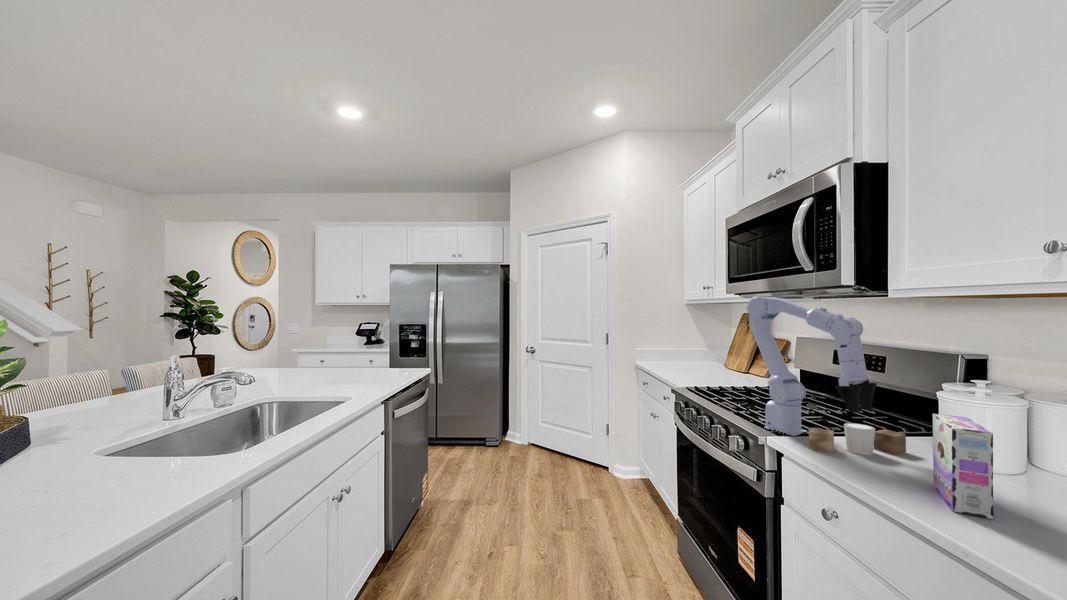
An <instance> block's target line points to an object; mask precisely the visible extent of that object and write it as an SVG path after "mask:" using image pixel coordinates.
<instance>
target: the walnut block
mask: <svg viewBox="0 0 1067 600" xmlns="http://www.w3.org/2000/svg"><path fill="white" fill-rule="evenodd" d="M873 450H877V451H879V452H884V453H886V454H889V455H893V456H897V455H901V454H902V455H903V454H906V453H907V435H906V434H904V433H900V432H896V431H892V430H889V429H881V430H880V429H879V430H875V436H874V445H873Z"/></svg>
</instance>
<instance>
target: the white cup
mask: <svg viewBox="0 0 1067 600" xmlns="http://www.w3.org/2000/svg"><path fill="white" fill-rule="evenodd" d="M843 428H844V436H845V446H846V451H848V452H849V453H852V454H856V455H862V456H872V455H873V453H874V436H875V431H876V428H875V427H873V426H872V425H871V426H870V425H867V424H862V423H856V422H854V423H853V422H846V423H844V424H843Z"/></svg>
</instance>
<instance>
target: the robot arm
mask: <svg viewBox="0 0 1067 600" xmlns="http://www.w3.org/2000/svg"><path fill="white" fill-rule="evenodd" d="M745 309H746V311H747V313H748V321H749V322H748V323H749V324H748V325H749V329H750V330H751V334H752V335H753V338H754V340H755V342H756V345H757V347H758V349H759V352H760V354H761V356H762V359H763V361H764V363H765V366H766V367H767V370H768V372H769V375H770V377H769V378H768V381H767V384H768V387H769V388H768V389H769V392H768V393H769V396H770V398H771V399H770V400H769V401H767V403H766V405H765V416H764V417H765V426H764V427H763V428H764V429H765V428H766V429H765V430H769V429H771V430H770V431H773V430H776V431H775V432H777V431H780V432H779V433H781V432H783V433H782V434H784V433H786V434H785V435H788V436H792V437H796V436H799V435H802V434H801V433H803V432H806V431H807V429H806V430H805V429H803V428H802V401H803V399H805V398H806V395H807V390H806V387H805V386H804V385H803V383H801V382H800V381H799V379H798V377H797V375H795V374H793V373H792V372H791V371H790V369H789V368H788V365H787V363H786V361H785V360H784V359H785V358H784V357H783V354H782V353H781V352H782V351H780V348H779V346H778V344H777V341H776V339H775V337H774V335H773V332H772V330H771V328H770V325H771V323H772V322H773V320H774V319H776V318H777V317H778V315H780V314H781V313H785V314H788V315H791V316H794V317H797V318H800V319H803V320H805V321H806V323H807V325H808V326H811V327H812V328H815V329H819V330H821V331H822V332H826V333H828V334H830V336H832V337H833V338H834V341H835V342H834V343H835V344H836V350H837V351H836V352H837V356H838V361H839V368H840V374H841V377H840V378H838V385H835V390H836V391H837V392H838V393H839V395H840V397H842V399H843V401H844V404H845V405H846V408H847V411H848V412H849V413H851V414H852V413H854V414H859V413H860V409H861V410H872V409H873V401H874V400H873V399H874V393H875V390H876V388H877V386H878V385H877V382H872V380H874V376H871V374H868V372H867V368H866V367H867V366H866V362H865V361H866V359H865V356H864V350H863V344H862V339H861V335H862V334H863V331H864V326H863V323H862V322H860V321H859V320H858V319H856V318H854V317H847V318H845V317H844V315H843V314H841V313H838V314H836V313H833V312H831V311H827V308H826V307H814V308H813V309H809V308H807V307H804V306H802V305H800V304H797V303H794V302H792V301H790V300H787V299H785V298H779V297H778V296H759V295H758V296H756V295H755V296H753V297H751V298H750V299H749V300H748V303H747V304H746V308H745ZM806 433H807V432H806ZM803 434H804V433H803Z"/></svg>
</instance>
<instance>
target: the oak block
mask: <svg viewBox="0 0 1067 600" xmlns="http://www.w3.org/2000/svg"><path fill="white" fill-rule="evenodd" d="M834 436H835V432H834V430H830V429H824V428H820V427H819V428H818V427H811V429H809V431H808V450H813V451H817V452H818V451H819V452H822V453H827V452H828V454H831V453H832V452H833V451H832V450H834V449H835V440H834V439H835V437H834Z"/></svg>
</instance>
